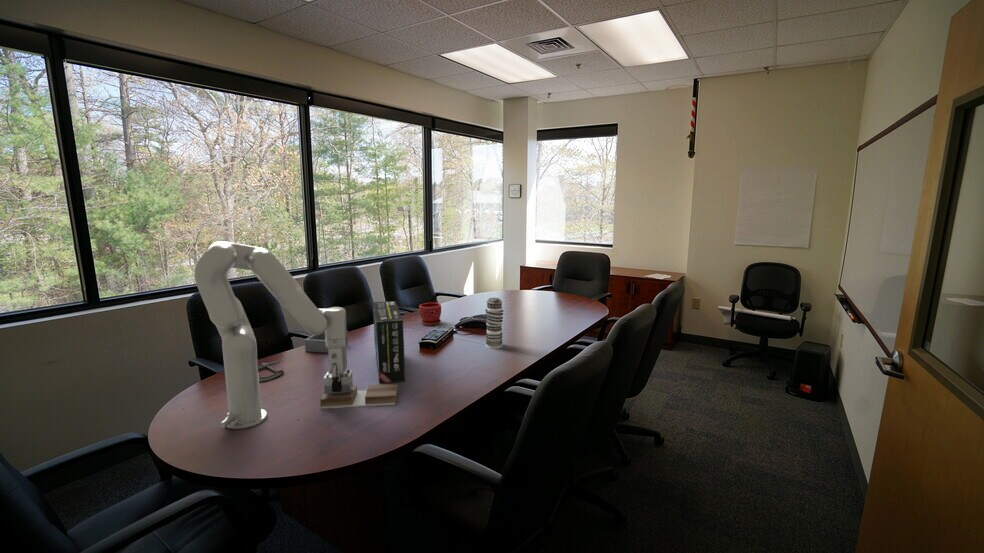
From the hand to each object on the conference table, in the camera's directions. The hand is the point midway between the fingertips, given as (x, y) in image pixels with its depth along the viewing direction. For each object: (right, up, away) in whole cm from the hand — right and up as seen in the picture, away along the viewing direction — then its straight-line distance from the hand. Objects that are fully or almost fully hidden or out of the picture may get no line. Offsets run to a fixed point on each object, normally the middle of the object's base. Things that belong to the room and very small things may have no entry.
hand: (338, 387), depth 164 cm
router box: (+11, 0, +33) cm, 35 cm away
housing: (0, -1, 0) cm, 1 cm away
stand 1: (0, -5, +1) cm, 5 cm away
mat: (+8, -5, +2) cm, 9 cm away
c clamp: (-40, -1, +27) cm, 48 cm away
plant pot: (+19, +12, +106) cm, 108 cm away
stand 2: (+15, -5, +3) cm, 16 cm away
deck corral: (-27, +5, +60) cm, 66 cm away
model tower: (+58, +5, +65) cm, 87 cm away
